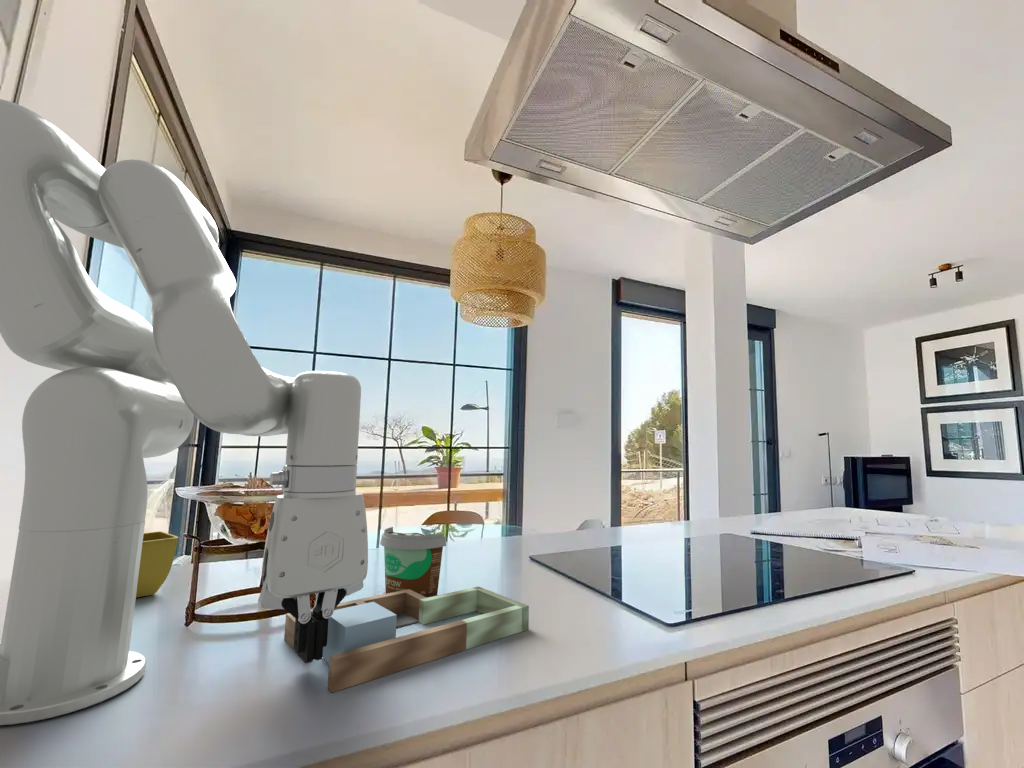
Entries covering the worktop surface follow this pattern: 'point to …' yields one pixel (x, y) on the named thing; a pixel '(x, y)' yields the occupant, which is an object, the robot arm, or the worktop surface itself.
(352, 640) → the block
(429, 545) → the food container
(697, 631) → the worktop surface
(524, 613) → the wood and green frame
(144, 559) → the flower pot
